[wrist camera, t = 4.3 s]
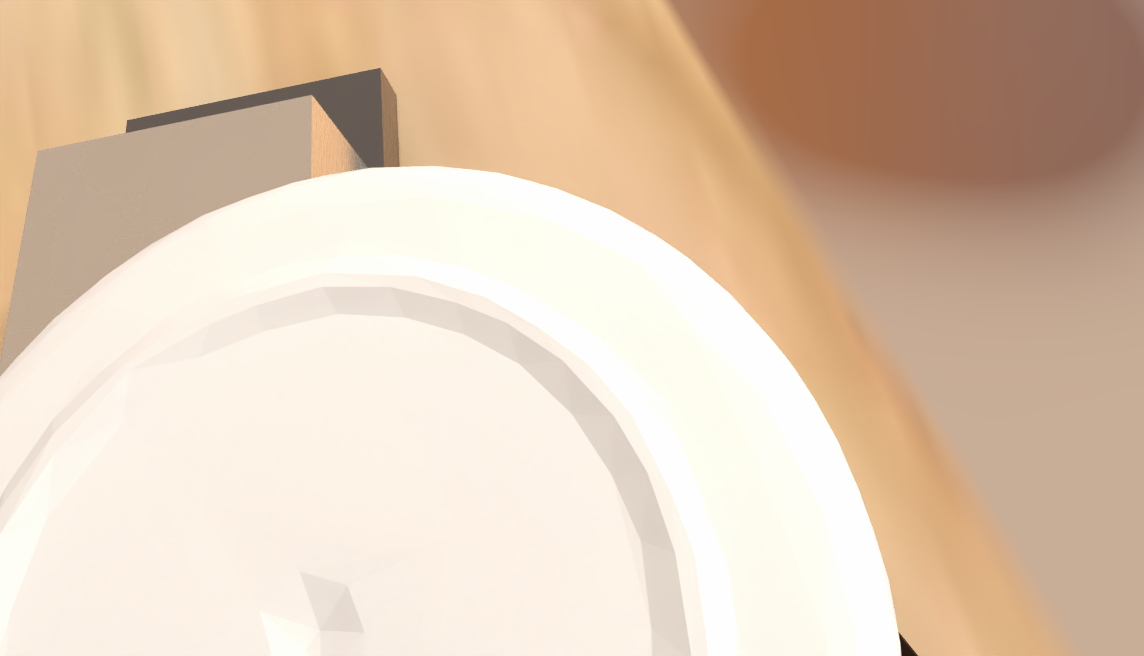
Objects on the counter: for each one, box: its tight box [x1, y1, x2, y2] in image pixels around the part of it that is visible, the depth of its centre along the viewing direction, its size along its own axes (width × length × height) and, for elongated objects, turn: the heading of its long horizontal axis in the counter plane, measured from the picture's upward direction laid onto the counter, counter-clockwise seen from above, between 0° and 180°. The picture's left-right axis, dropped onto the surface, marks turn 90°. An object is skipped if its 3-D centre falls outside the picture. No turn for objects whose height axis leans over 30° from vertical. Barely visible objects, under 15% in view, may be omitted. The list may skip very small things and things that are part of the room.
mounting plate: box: [0, 68, 399, 376], centre depth 14 cm, size 26×8×4 cm, turn 8°
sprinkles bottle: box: [0, 166, 901, 656], centre depth 9 cm, size 5×5×13 cm
